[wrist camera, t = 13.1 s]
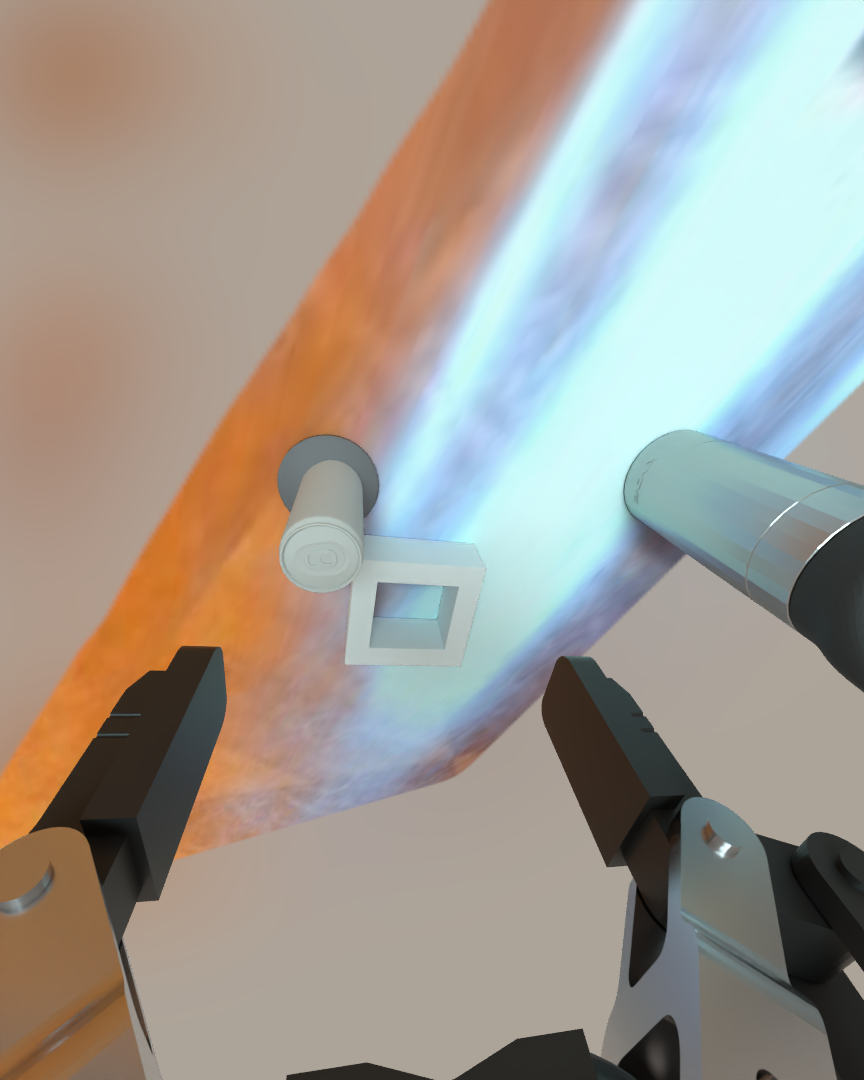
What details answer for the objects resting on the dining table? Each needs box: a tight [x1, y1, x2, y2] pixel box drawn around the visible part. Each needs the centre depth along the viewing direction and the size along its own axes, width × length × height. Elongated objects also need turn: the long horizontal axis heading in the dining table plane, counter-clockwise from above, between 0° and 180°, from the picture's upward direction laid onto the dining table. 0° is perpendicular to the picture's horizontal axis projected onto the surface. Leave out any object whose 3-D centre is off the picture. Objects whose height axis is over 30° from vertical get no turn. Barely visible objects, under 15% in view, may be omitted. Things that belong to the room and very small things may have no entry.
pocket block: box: [345, 535, 486, 666], centre depth 39 cm, size 11×11×4 cm
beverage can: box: [279, 460, 364, 593], centre depth 29 cm, size 5×5×12 cm
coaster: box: [278, 435, 379, 518], centre depth 34 cm, size 8×8×1 cm
